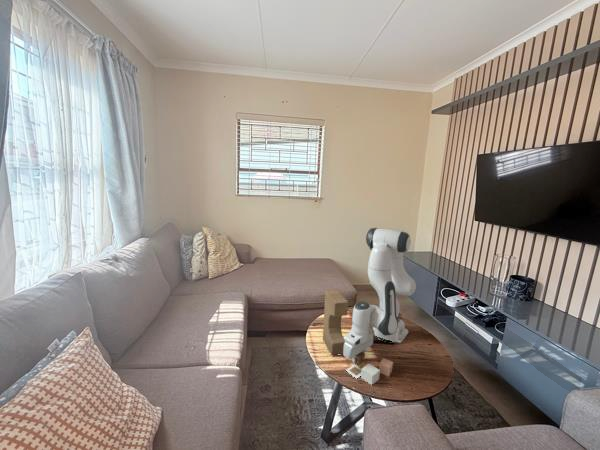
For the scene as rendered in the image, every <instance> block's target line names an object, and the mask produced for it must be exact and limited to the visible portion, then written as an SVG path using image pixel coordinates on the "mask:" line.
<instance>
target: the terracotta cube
mask: <svg viewBox="0 0 600 450" xmlns="http://www.w3.org/2000/svg"><path fill="white" fill-rule="evenodd" d="M393 367H394V362H393V361H392V360H389V359H387V358H384V357H383V358H381V360H380V362H379V368H378V369H379V370H380V375H384V376H386V377H390V375H391V373H392V372H393Z"/></svg>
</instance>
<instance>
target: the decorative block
mask: <svg viewBox="0 0 600 450" xmlns="http://www.w3.org/2000/svg"><path fill="white" fill-rule="evenodd" d="M348 311H349V301H348V300H347V299H346V298H345V297H344V295H342V293H340V291H339V290H338V289H335V290H325V294H324V309H323V312H324V313H323V326H322V327H323V328H322V340H323V343H324V342H325V343H324V344H326V345H325V346H326V348H327V350H328V352H329V354H330V353H331V354H330V355H336V356H339V355H338V354H343V349H344V343H345V340H344V336H343V331H342V317H344V316H348V315H349V314H348Z"/></svg>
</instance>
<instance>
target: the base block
mask: <svg viewBox="0 0 600 450" xmlns="http://www.w3.org/2000/svg"><path fill="white" fill-rule="evenodd" d="M361 369H362V370H361V377H360V379H362V380H363V379H364V380H363V381H364V382H366V383H367V382H368V383H367V384H369V385H370V384H371V385H370V386H373V385H374V384H375V383H376V382H377V381H379V380H380V375H381V373H380V370H379V368H377V367H375V365H373V364H371V363H370V362H369V363H367V364H365V366H363V367H362V368H361ZM372 384H373V385H372Z"/></svg>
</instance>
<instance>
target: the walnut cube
mask: <svg viewBox="0 0 600 450" xmlns="http://www.w3.org/2000/svg"><path fill="white" fill-rule="evenodd" d="M355 358H356V362H354V363H355V365H356V364H357V365H358V366H357V365H356V366H357V367H360V366H361V365H363V364H364V363H365V362H366V352H365V353H364V352H360V353H359V354H357V355H356V357H355ZM351 361H352V358H351V359H350V362H351ZM363 362H364V363H363ZM354 363H353V364H354ZM362 363H363V364H362ZM360 364H361V365H360ZM359 365H360V366H359Z"/></svg>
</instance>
